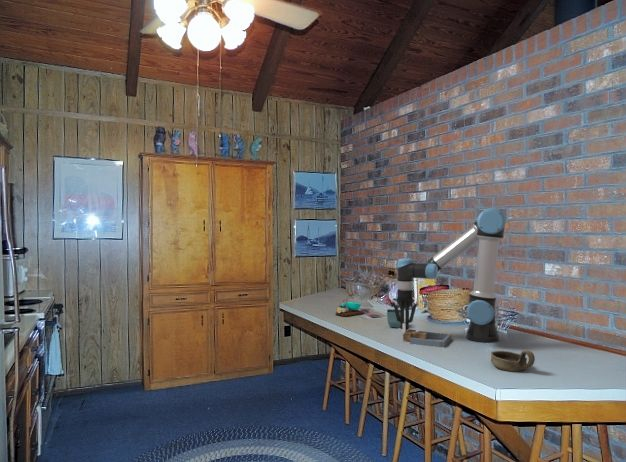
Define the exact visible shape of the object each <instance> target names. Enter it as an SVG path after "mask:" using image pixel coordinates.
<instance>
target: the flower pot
mask: <svg viewBox="0 0 626 462" xmlns="http://www.w3.org/2000/svg"><path fill="white" fill-rule="evenodd" d="M399 314H400V309H399ZM386 320H387V324H388V327H390V328H398V329H399V328H401V323H400V322H399V321H397V318H396V314H395V309H391V308H389V309H388V308H387V309H386Z"/></svg>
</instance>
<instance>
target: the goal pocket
mask: <svg viewBox="0 0 626 462" xmlns="http://www.w3.org/2000/svg"><path fill="white" fill-rule="evenodd" d="M418 332H423V333H427V339H419V338H410V342H409V345H415V344H416V346H427V347H434V346H435V347H436V348H443V347H444V346H445V347H446V346H447V345H448V344H449V342H450V341H451V340H452V334H449V333H440V332H432V331H425V330H424V331H422V330H419V331H418ZM432 339H433V340H432ZM434 339H435V340H434ZM435 347H434V348H435ZM445 347H444V348H445Z"/></svg>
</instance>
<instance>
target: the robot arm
mask: <svg viewBox="0 0 626 462" xmlns="http://www.w3.org/2000/svg"><path fill="white" fill-rule="evenodd" d="M506 220H507V219H506V216H505V214H504V213H503V211H502V210H500V209H498V208H497V207H496V208H495V207H489V208H485V209H483V210H482V211H481V212H480V213H479V214H478V217H477V220H476V221H475V222H473V223H472V226H471V227H470V228H468V229H467V230H466V231H465V232H464V233H462V234H461V235H459V236H458V237H457V238H456V239H454V240H453V241H452V242H451V243H449V244H448V245H447V246H445V247H444V248H443V249H441V250H440V251H438V252H437V253H436V254H435V255H433V256H432V257H431V258H429V259H428V260H426V261H425V262H423V263H422V262H414V261H413V259H412V258H408V257H407V258H399V259H397V266H396V270H397V271H396V272H397V274H396V275H397V276H396V277H397V280H396V281H397V283H396V285H397V286H396V287H397V293H396V296H397V297H396V300H394V301H393V302H392V303H391V304H392V306H393V308H394V310H395V314H396V318H397V321H399V322H400V323H401V325H400V330H402V334H403V333H404V332H406V331H407V330H409V329H410V323H411V324H412V322H413V321H414V317H415V312H416V308H417V307H418V306H419V305H418V303H416V302H415V301H414V299H413V294H414V293H413V281H414V280H413V279H426V280H427V279H428V280H432V279H433V280H436V279H437V277H438V273H439V272H440V270H442V269H444V268H445V267H446V266H448V265H449V264H450V263H451V262H453V261H454V260H455V259H457V258H458V257H459V256H461V255H462V254H464V253H465V252H466V251H467V250H469V249H471V248H472V247H473V246H475V245H476V244H478V251H477V258H476V265H475V266H476V268H475V276H474V282H473V283H474V284H473V290H472V291H470V292H469V297H468V304H467V307H466V315H467V318H468V319H469V325H468V327H467V331H466V339H468V340H470V341H473V342H479V343H495V342H499V340H500V336H499V332H498V329H497V325H496V298H497V296H496V294H495V293H494V290H495V289H494V287H495V279H496V273H497V272H496V271H497V264H498V263H497V262H498V257H499V255H498V254H499V246H500V243H501V241H502V240H503V239H504V236H505V235H504V234H505V227H506V222H507V221H506ZM411 305H412V306H411ZM399 307H400V308H399ZM411 307H412V308H411ZM410 308H411V311H410ZM399 310H400V314H399Z"/></svg>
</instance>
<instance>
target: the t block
mask: <svg viewBox="0 0 626 462" xmlns="http://www.w3.org/2000/svg"><path fill="white" fill-rule="evenodd" d="M410 338H419V339H427V340H428V338H427V333H423V332H419V331H416V329H410V328H409V329H408V330H407V331H406V332H404V333H403V332H402V342H404V343H405V342H406V343H407V342H408V343H410Z"/></svg>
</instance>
